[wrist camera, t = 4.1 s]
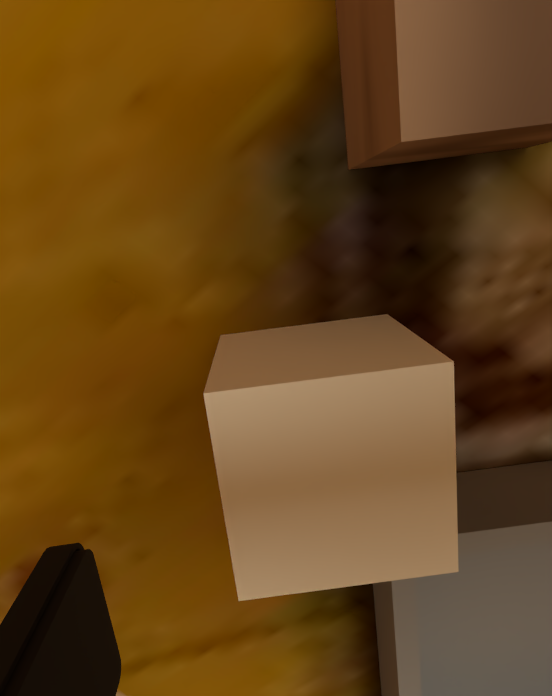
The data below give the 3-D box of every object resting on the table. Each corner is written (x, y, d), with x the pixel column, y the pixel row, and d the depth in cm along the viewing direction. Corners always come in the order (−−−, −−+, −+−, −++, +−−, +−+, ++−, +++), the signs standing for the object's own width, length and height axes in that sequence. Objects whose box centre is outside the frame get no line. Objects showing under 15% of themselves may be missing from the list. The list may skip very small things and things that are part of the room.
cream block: (386, 313, 17) (453, 361, 11) (395, 463, 19) (458, 571, 13) (220, 334, 17) (203, 393, 11) (243, 482, 19) (238, 600, 13)
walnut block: (530, -67, 14) (716, -260, 9) (526, 147, 16) (682, 106, 10) (331, -43, 14) (383, -221, 8) (347, 169, 16) (401, 142, 10)
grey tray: (679, 443, 19) (772, 492, 16) (652, 688, 22) (723, 772, 19) (364, 484, 19) (388, 542, 15) (383, 725, 22) (407, 816, 19)
